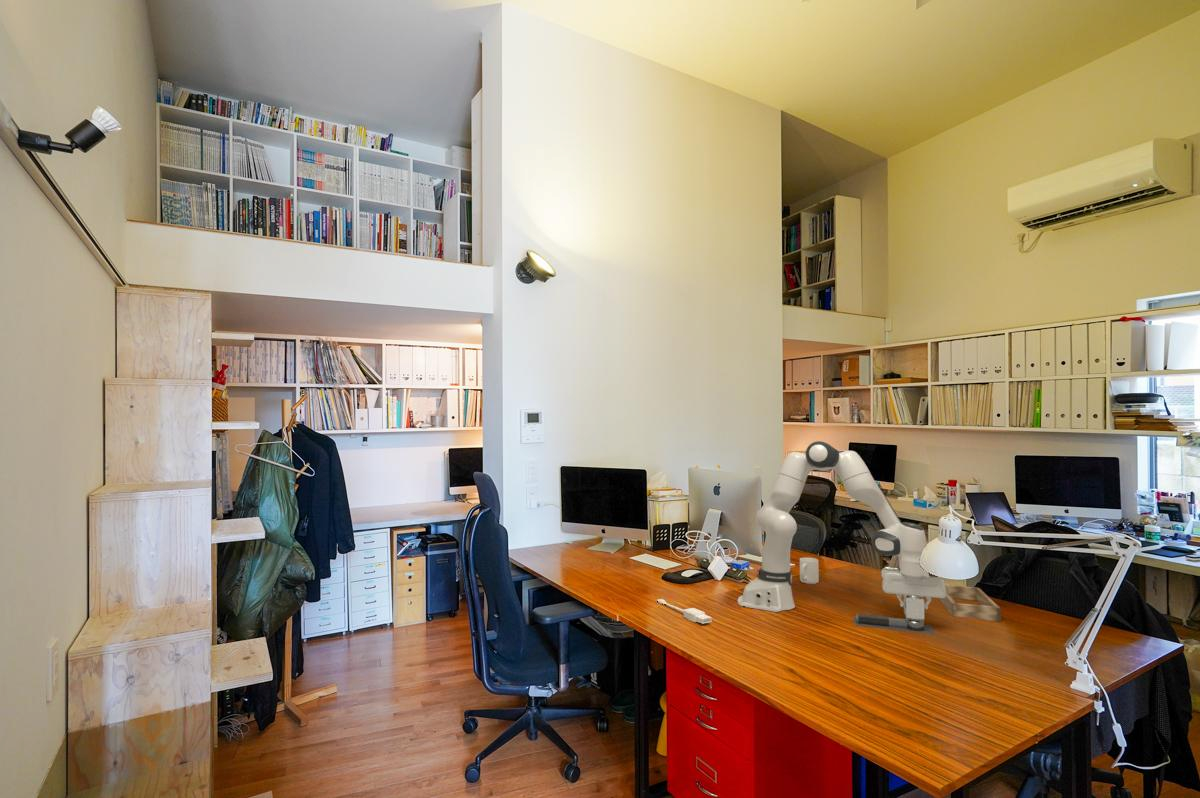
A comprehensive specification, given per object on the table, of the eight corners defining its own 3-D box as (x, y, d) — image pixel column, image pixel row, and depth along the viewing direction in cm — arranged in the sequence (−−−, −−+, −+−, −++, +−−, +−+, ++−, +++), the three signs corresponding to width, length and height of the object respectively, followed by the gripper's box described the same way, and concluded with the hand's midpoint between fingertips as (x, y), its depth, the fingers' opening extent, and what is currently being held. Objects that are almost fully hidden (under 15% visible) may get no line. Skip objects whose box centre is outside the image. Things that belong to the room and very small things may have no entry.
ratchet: (857, 624, 207) (857, 602, 208) (856, 619, 213) (855, 597, 213) (925, 631, 200) (925, 608, 200) (922, 626, 206) (921, 603, 206)
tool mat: (854, 626, 207) (854, 625, 207) (852, 618, 215) (852, 617, 215) (936, 635, 198) (936, 633, 198) (930, 626, 206) (930, 625, 206)
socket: (906, 617, 202) (906, 596, 203) (904, 612, 208) (903, 591, 208) (924, 619, 200) (923, 597, 201) (921, 614, 206) (920, 593, 206)
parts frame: (953, 616, 217) (953, 603, 217) (937, 596, 244) (936, 584, 244) (1001, 621, 212) (1000, 607, 212) (979, 599, 238) (978, 587, 238)
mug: (810, 586, 258) (809, 563, 258) (793, 583, 264) (792, 560, 264) (821, 581, 266) (821, 559, 267) (805, 578, 272) (804, 556, 272)
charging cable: (662, 603, 237) (662, 595, 238) (712, 623, 209) (712, 614, 209) (652, 605, 235) (652, 597, 235) (701, 626, 207) (701, 616, 207)
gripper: (882, 568, 205) (882, 607, 205) (946, 573, 198) (948, 613, 198) (879, 564, 211) (880, 602, 211) (942, 569, 204) (943, 608, 204)
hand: (913, 607), depth 204 cm, fingers open, 6 cm apart
